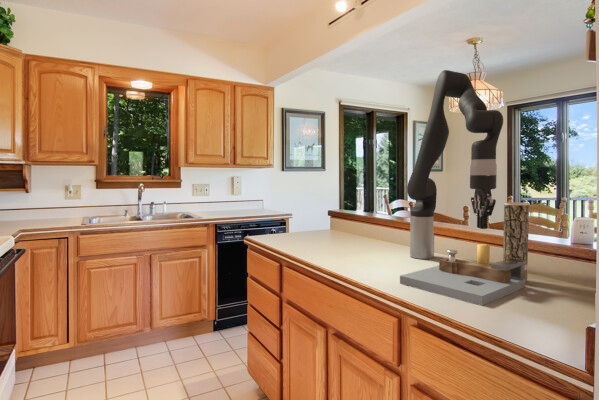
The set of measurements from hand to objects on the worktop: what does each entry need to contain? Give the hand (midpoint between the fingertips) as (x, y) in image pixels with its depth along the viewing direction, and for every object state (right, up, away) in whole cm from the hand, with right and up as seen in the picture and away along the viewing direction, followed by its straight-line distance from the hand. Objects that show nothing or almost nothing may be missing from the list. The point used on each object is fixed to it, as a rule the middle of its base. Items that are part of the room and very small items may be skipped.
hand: (482, 228), depth 118 cm
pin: (+1, -14, +1) cm, 14 cm away
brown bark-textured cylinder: (+11, -17, 0) cm, 20 cm away
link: (-4, -15, -2) cm, 15 cm away
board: (-9, -17, -4) cm, 20 cm away
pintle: (-8, -17, +4) cm, 19 cm away
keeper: (+3, -18, -9) cm, 20 cm away
